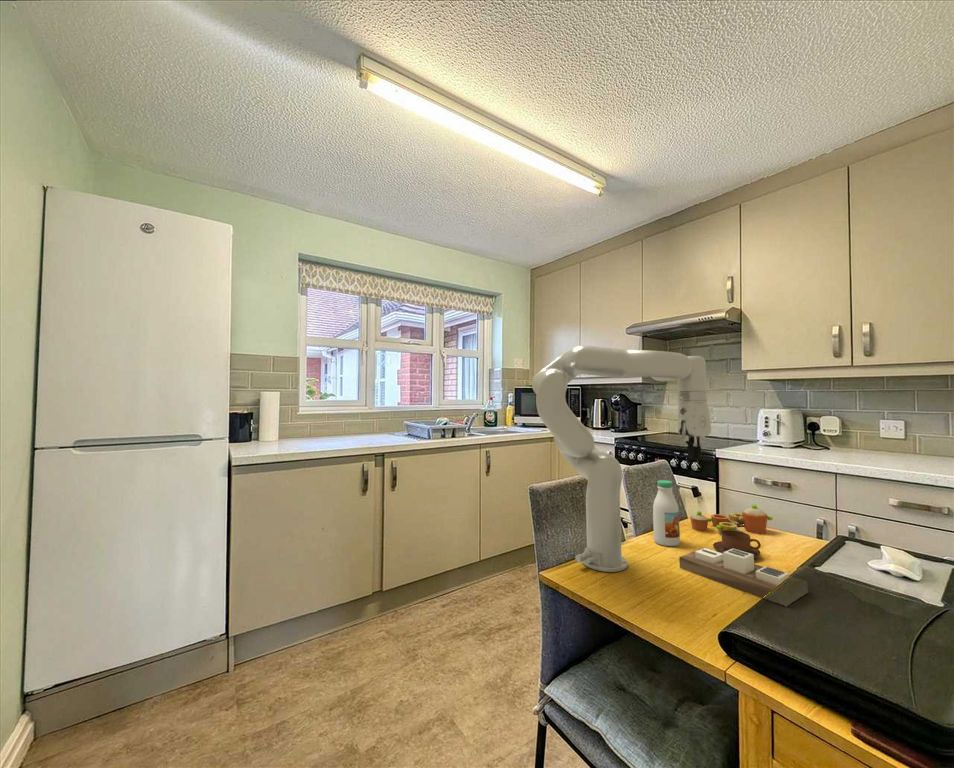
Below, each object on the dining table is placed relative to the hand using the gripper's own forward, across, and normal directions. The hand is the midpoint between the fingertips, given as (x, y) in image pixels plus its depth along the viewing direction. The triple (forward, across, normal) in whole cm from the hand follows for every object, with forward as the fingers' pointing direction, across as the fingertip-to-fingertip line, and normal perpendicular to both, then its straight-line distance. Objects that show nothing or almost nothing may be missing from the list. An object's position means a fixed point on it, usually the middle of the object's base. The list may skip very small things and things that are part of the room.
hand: (694, 459), depth 117 cm
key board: (+29, -4, -13) cm, 32 cm away
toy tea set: (+30, +35, +9) cm, 47 cm away
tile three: (+29, -4, -20) cm, 35 cm away
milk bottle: (+29, +5, +13) cm, 32 cm away
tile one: (+29, -4, -6) cm, 29 cm away
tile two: (+26, -4, -13) cm, 30 cm away
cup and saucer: (+30, +14, -4) cm, 33 cm away
